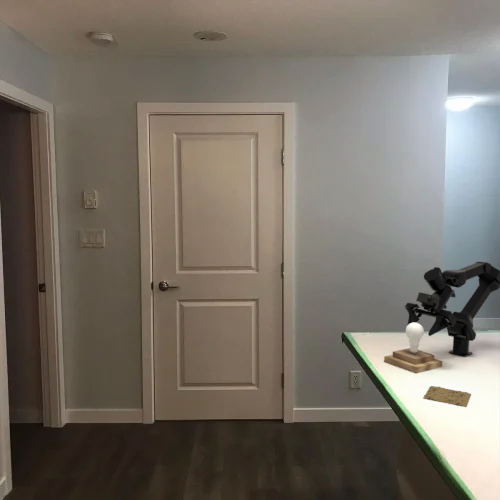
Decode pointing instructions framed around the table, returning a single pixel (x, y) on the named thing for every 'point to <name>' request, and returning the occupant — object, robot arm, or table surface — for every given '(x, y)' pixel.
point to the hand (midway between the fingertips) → (418, 332)
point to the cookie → (447, 396)
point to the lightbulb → (414, 335)
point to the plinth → (411, 366)
